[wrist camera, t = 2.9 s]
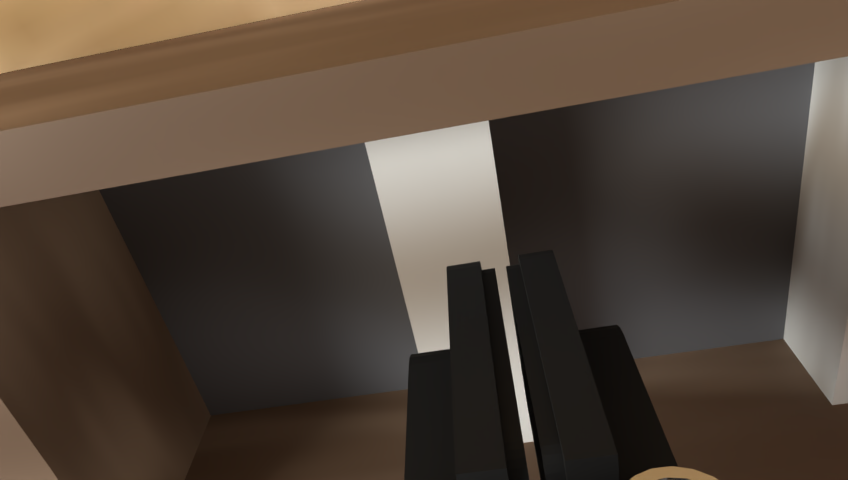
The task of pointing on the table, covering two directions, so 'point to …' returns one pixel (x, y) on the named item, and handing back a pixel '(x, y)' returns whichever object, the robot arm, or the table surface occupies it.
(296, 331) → the trap box
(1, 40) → the table surface
